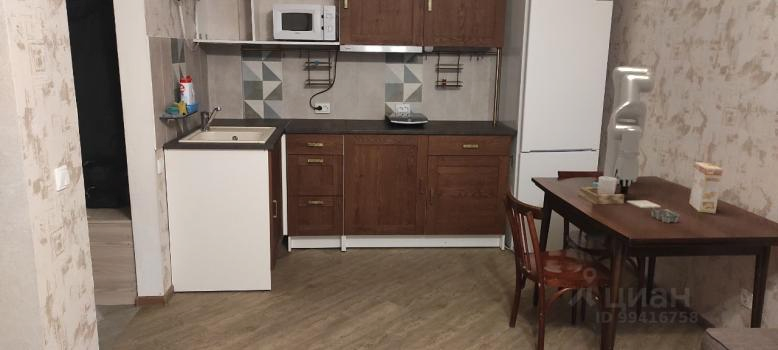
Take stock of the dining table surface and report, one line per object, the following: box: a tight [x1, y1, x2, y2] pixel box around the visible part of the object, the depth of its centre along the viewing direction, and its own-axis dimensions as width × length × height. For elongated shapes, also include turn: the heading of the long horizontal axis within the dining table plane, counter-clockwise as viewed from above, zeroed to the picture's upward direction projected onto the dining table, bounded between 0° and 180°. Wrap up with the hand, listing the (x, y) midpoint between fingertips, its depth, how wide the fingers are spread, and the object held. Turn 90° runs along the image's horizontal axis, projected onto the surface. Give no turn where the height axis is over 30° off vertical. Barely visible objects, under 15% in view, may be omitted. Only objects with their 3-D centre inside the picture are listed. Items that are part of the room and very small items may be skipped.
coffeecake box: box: [689, 161, 724, 214], centre depth 263 cm, size 15×7×20 cm, turn 168°
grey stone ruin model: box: [650, 207, 680, 224], centre depth 245 cm, size 11×8×4 cm
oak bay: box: [578, 186, 625, 205], centre depth 272 cm, size 14×14×4 cm
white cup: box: [598, 175, 617, 195], centre depth 272 cm, size 8×8×10 cm
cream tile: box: [626, 199, 662, 209], centre depth 266 cm, size 10×10×1 cm
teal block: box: [591, 181, 599, 187], centre depth 283 cm, size 5×5×5 cm
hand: (623, 193), depth 275 cm, fingers closed
